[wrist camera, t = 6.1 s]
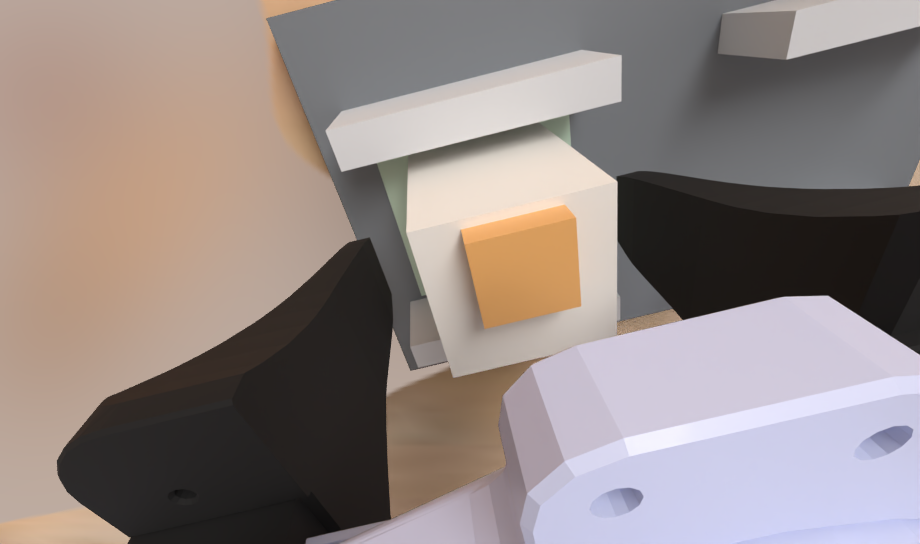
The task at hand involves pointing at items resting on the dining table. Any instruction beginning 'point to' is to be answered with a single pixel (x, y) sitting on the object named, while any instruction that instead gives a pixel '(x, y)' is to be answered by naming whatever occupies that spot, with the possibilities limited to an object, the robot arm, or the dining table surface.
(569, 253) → the plug
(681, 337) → the robot arm
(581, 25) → the panel
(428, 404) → the dining table surface
